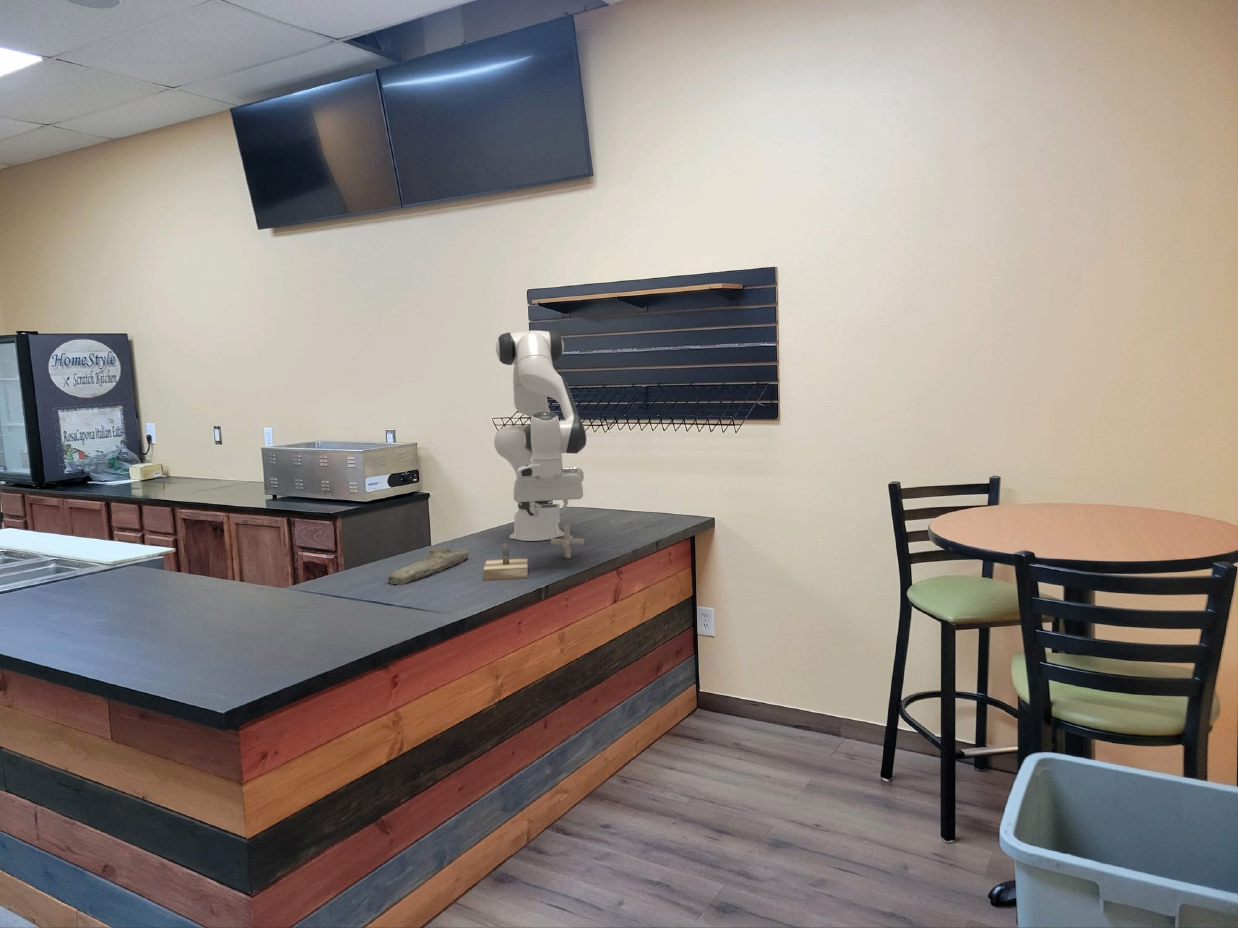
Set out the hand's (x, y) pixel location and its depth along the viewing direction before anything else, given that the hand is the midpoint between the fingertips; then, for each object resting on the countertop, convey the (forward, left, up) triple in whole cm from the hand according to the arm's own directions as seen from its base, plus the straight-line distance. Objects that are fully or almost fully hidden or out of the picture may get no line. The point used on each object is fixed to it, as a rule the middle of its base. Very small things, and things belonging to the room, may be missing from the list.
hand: (549, 515), depth 249 cm
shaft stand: (+4, -13, -16) cm, 21 cm away
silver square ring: (0, 0, -2) cm, 2 cm away
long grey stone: (-6, -36, -16) cm, 40 cm away
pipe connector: (-13, +5, -16) cm, 21 cm away
